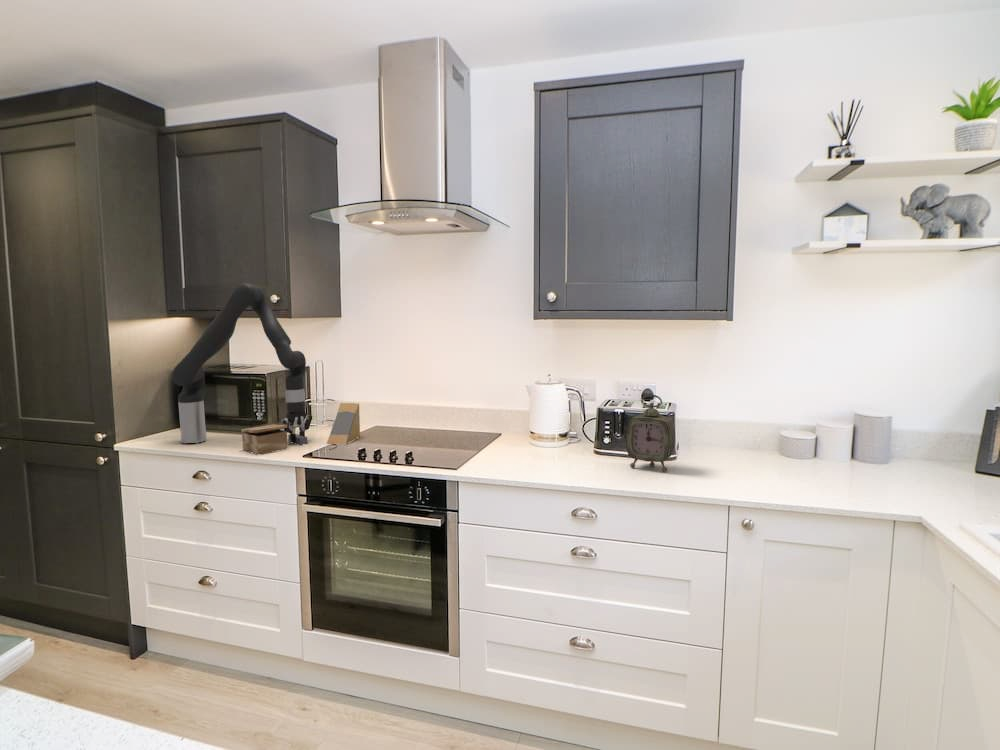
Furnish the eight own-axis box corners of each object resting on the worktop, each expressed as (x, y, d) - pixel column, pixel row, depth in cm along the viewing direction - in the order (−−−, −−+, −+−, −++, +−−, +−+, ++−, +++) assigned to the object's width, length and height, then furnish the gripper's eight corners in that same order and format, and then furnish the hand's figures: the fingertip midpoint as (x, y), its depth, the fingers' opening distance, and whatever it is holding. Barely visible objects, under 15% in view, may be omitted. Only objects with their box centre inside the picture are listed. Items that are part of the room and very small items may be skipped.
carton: (243, 450, 224) (242, 432, 223) (272, 444, 233) (270, 427, 232) (258, 454, 216) (257, 436, 215) (287, 448, 225) (286, 431, 224)
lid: (241, 432, 223) (241, 429, 223) (271, 426, 232) (271, 424, 232) (257, 432, 215) (256, 430, 215) (287, 427, 224) (287, 424, 224)
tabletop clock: (625, 468, 192) (626, 394, 189) (633, 462, 200) (634, 391, 197) (668, 474, 184) (670, 397, 182) (675, 467, 192) (677, 394, 189)
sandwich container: (324, 445, 231) (323, 408, 229) (341, 437, 246) (340, 402, 244) (344, 446, 229) (343, 409, 228) (360, 437, 244) (359, 403, 243)
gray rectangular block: (288, 442, 238) (288, 434, 237) (295, 441, 240) (295, 433, 239) (300, 446, 231) (300, 438, 230) (307, 444, 233) (307, 436, 233)
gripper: (305, 397, 241) (307, 437, 243) (274, 401, 230) (277, 443, 232) (316, 398, 236) (318, 439, 238) (284, 403, 225) (287, 446, 227)
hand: (297, 441), depth 235 cm, fingers closed on gray rectangular block, 3 cm apart
